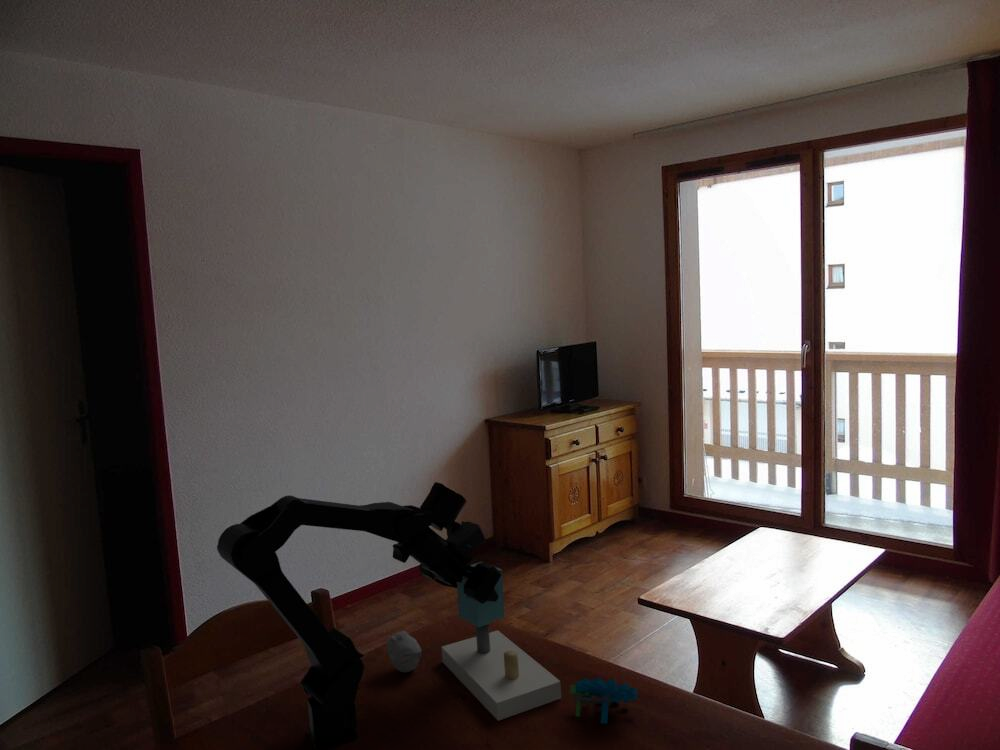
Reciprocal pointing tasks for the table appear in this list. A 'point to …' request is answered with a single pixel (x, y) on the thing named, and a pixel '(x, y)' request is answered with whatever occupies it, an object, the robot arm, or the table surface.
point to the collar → (480, 605)
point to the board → (500, 673)
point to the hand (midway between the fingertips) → (486, 594)
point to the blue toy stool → (601, 694)
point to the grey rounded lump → (403, 651)
